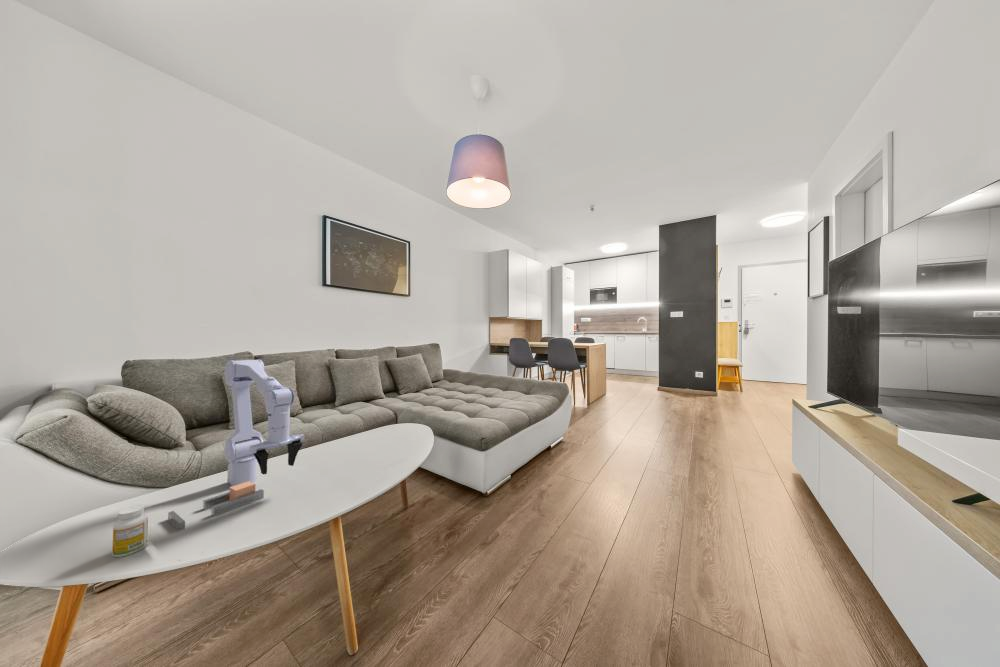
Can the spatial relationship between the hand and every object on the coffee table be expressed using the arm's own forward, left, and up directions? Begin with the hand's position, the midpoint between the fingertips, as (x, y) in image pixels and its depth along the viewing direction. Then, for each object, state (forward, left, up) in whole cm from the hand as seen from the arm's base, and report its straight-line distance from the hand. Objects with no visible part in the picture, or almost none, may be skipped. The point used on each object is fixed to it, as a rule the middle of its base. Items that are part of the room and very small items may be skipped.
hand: (277, 469), depth 98 cm
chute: (-6, -11, -10) cm, 16 cm away
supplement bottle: (-3, -30, -10) cm, 32 cm away
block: (-6, -7, -9) cm, 13 cm away
